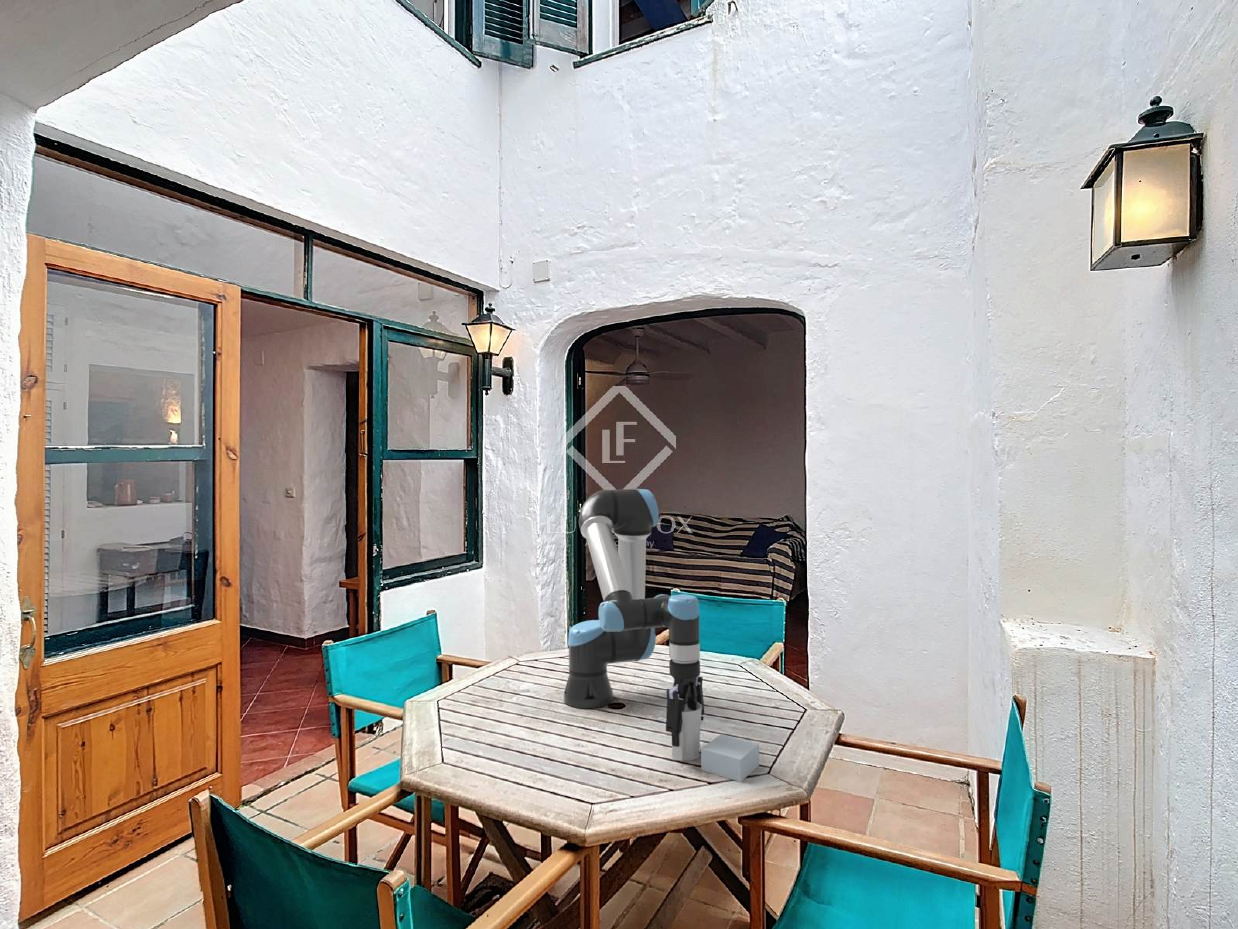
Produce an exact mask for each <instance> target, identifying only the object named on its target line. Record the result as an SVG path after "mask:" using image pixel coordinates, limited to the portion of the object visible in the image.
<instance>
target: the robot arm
mask: <svg viewBox="0 0 1238 929" xmlns="http://www.w3.org/2000/svg"><path fill="white" fill-rule="evenodd" d="M657 503H658V502H657V500H656V498H655V495H654V493H652V492H651V491H650V490H649V489H644V488H643V489H641V488H626V489H625V488H623V489H601V490H599V491H596V492H595V493H593V494H591V495H590V496H589V497H588V498H587V499H586V500H585V501H584V503H583V505H582V507H581V509H580V512H579V517H578V526H579V530H580V533H581V535H582V537H583V538H584V539H586V543H587V546H588V550H589V553H590V556H591V561H592V564H593V568H594V571H595V575H596V578H597V582H598V586H599V589H600V592H601V596H602V599H603V602H601V603H600V604H599V606H598V613H597V614H598V619H596V620H595V619H592V620H585V621H581V622H579V623H577V624H574V625H572V627H570V629H569V630H568V631H569V632H568V641H567V645H568V673H569V674H568V678H567V682H566V685H565V689H564V692H563V702H564V704H566V705H567V706H570V707H572V708H577V709H578V708H579V709H593V708H594V709H596V708H601V707H603V706H607V705H609V704H611V703H612V702H613V701H614V690H613V688H612V686H611V683H610V682H611V681H610V680H609V676H608V667H607V666H608V664H609V665H610V664H618V663H627V662H628V663H629V662H640V661H643V660H647V659H650V658H651V656H652V655H653V653H654V650H655V647H656V638H657V636H656V628H667V629H668V642H669V643H668V646H669V650H668V651H669V652H668V653H669V658H670V660H669V663H668V664H669V676H671V678H673V684H672V685H673V686H672V688H671V689H669V688H666V692H665V693H666V715H665V716H666V720H665V731H666V732H669V733H671V753H672V754H671V757H672V759H675V760H678V761H684V760H683V759H684V758H683V732H681V727H682V711H683V712H684V709H685V704H687V705H688V708H689V709H691V710H693V711H695V710H697V702H698V703H700V704H701V705H702V712H701V722H702V721H704V720H705V718H704V715H705V704H704V692H703V690H704V689H703V679H704V677H703V676H700V675H701V660H700V658H701V649H700V648H701V647H700V646H701V645H700V607H699V606H700V605H699V599H698V597H697V596H695V595H691V594H685V593H684V594H674V595H669V594H663V593H661V594H657V595H655V596H654V597H650V598H645V597H646V566H647V565H646V563H647V562H646V560H647V559H646V557H647V539H648V537H650V535H651V534H652V528H654V527H657V525H658V524H659V523H658V522H659V507H658V504H657ZM612 531H613V532H612ZM613 534H614V535H615V536H616V537H617V540H618V544H617V543H616V540H615V538H614V535H613ZM617 546H618V547H617ZM699 749H701V745H700V746H699Z"/></svg>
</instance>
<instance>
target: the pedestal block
mask: <svg viewBox="0 0 1238 929" xmlns="http://www.w3.org/2000/svg"><path fill="white" fill-rule="evenodd" d="M700 754H701V755H700V763H701V764H700V765H701V771H703V772H705V773H710V774H713V775H716V776H719V777H722V778H726V779H729V780H733V781H736V782H740V783H742V781H744V780H745V779H746V778H747V777H748V776H749V775H750V774H752V773H753V771H754V770H756V769H757V768H758V767H759V766H760V743H759V742H758V743H757V742H753V741H749V740H745V739H741V738H737V737H734V736H729V735H727V734H723V733H720V734H719V735H718V736H716V737H715V738H713V739H712V740H711V741H709V742H708V743H707V744H705V745H704V746H703V747H702V748H701V747H700Z"/></svg>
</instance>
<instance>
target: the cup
mask: <svg viewBox="0 0 1238 929" xmlns="http://www.w3.org/2000/svg"><path fill="white" fill-rule="evenodd" d="M701 712H702V705H701V704H700V703H698V702H697V710H695V711H693V710H691V709H689V708H688V705H687V704H685V709H684V712H683V711H682V727H681V732H683V758H684V759H683V760H682V761H688V762H690V761H695V760H697V759H698V758H699V757H700V748H699V746H700V747H701V724H702V721H701V716H702V715H701Z"/></svg>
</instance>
